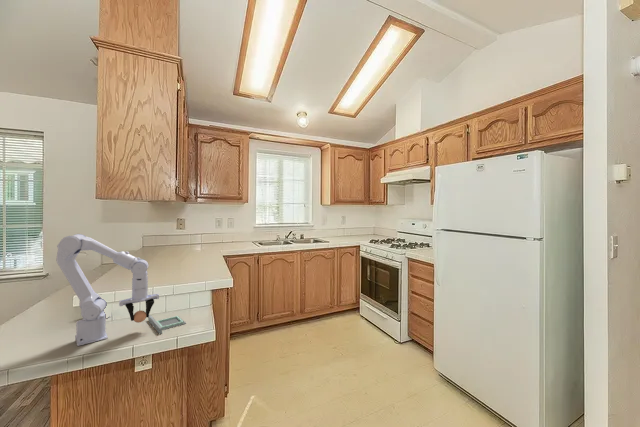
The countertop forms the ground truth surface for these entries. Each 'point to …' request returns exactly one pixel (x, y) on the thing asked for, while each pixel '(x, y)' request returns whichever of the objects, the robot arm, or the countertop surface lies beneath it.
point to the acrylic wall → (155, 324)
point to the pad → (170, 322)
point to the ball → (139, 316)
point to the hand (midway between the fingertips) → (139, 318)
